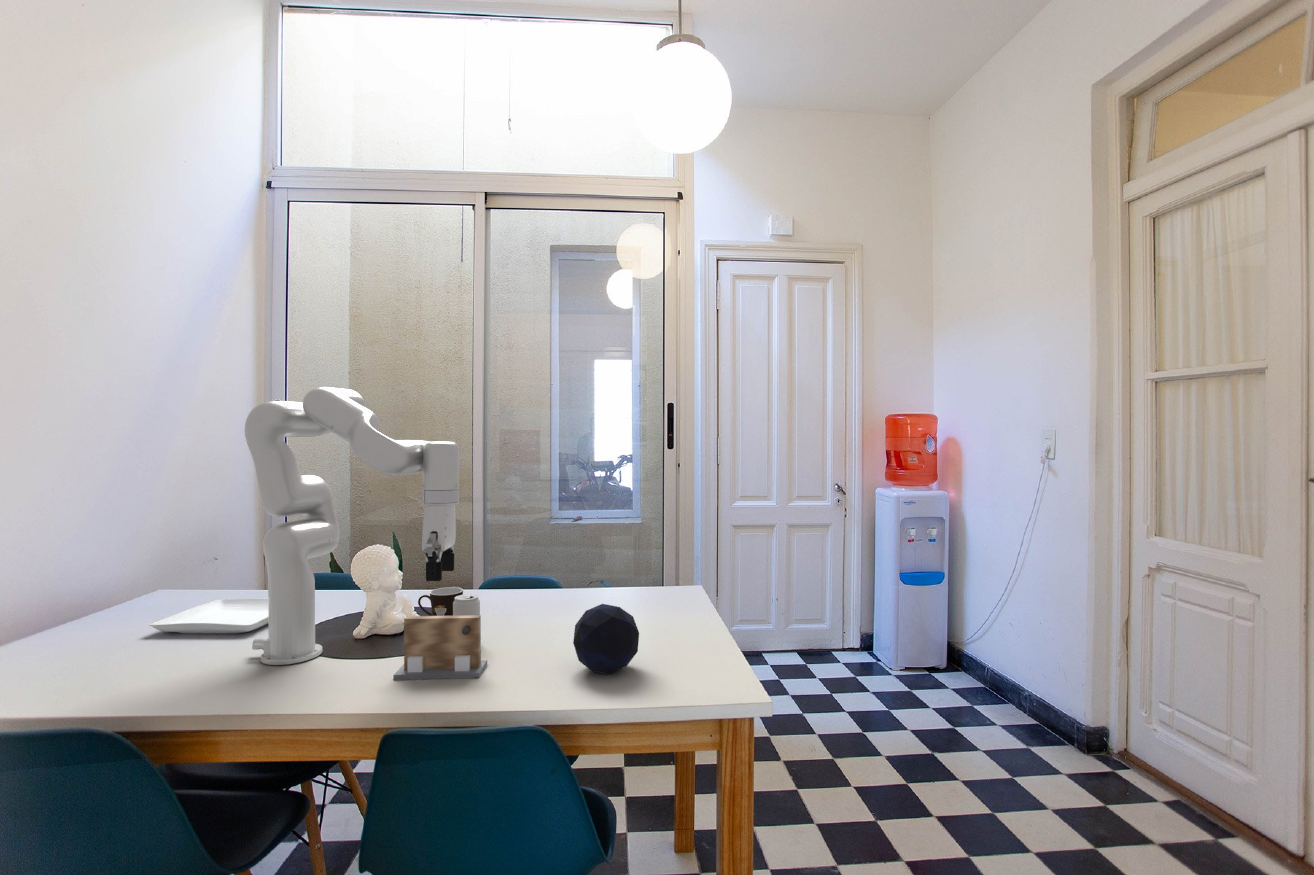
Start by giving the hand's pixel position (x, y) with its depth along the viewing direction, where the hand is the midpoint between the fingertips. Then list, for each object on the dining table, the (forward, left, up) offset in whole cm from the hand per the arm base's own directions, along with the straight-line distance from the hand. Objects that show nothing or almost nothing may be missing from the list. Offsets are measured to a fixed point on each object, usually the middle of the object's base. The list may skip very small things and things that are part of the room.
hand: (440, 575), depth 139 cm
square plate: (-69, +42, -22) cm, 83 cm away
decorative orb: (+36, -1, -21) cm, 42 cm away
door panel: (0, 0, -20) cm, 20 cm away
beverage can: (+1, +18, -21) cm, 28 cm away
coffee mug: (-9, +33, -21) cm, 40 cm away
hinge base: (0, 0, -21) cm, 21 cm away
